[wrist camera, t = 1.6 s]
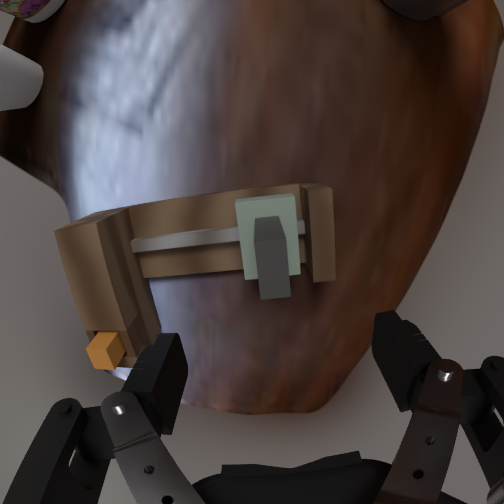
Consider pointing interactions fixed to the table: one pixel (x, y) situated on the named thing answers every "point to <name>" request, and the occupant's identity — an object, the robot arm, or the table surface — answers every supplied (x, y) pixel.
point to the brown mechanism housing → (174, 253)
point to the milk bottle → (31, 8)
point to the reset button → (106, 350)
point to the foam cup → (18, 80)
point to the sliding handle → (269, 242)
